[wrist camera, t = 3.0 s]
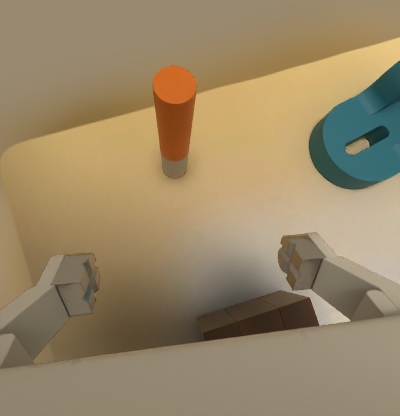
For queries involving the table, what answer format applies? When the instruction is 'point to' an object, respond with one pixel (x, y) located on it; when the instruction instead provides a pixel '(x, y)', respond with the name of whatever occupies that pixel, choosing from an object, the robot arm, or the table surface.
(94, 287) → the robot arm
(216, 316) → the pen stand
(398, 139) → the camera mount
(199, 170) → the table surface
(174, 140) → the orange cylinder rod
